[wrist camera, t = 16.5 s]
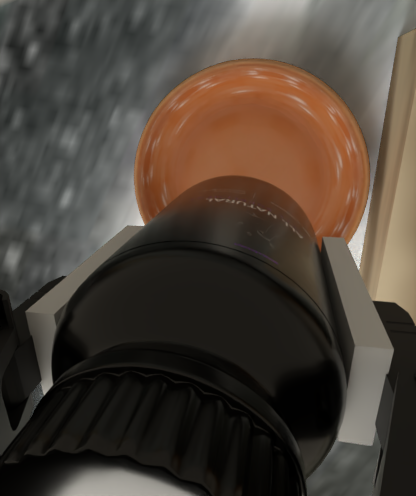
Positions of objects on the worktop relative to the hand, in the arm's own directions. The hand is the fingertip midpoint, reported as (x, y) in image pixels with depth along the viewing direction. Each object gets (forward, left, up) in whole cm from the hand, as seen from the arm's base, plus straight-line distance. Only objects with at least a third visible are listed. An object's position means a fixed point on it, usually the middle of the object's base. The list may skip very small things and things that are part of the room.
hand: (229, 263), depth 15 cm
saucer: (0, 0, -15) cm, 15 cm away
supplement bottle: (0, 0, -2) cm, 2 cm away
